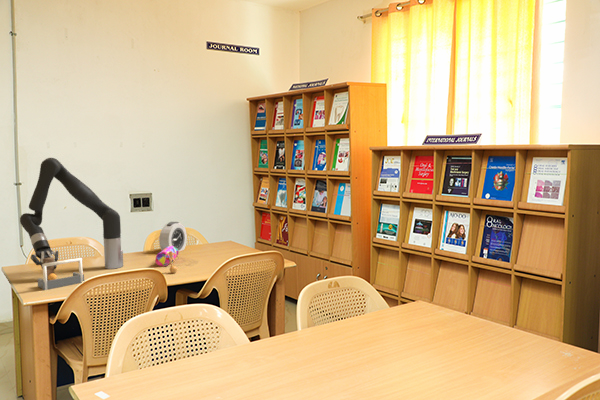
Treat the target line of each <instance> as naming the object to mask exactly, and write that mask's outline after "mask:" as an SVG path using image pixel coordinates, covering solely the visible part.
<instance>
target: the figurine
mask: <svg viewBox="0 0 600 400" xmlns="http://www.w3.org/2000/svg"><path fill="white" fill-rule="evenodd" d="M173 254H175V253H173V252H172V251H170V252H169V253H168V254H166V255H165V261H166V256H167V255H169V256H170V258H169V260H170V263H169V265H170V267H169V272H170V273H172V274H175V273H177V271H178V268H177V266H176V265H175V261H176V260H175V259H174V257H172V256H173ZM175 255H176V254H175ZM176 256H177V255H176ZM176 258H178V259H179V256H177V257H176ZM172 260H173V261H172Z"/></svg>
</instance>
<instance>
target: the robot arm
mask: <svg viewBox="0 0 600 400" xmlns="http://www.w3.org/2000/svg"><path fill="white" fill-rule="evenodd" d="M54 179H56V180H57V181H58V182H60V183H61V184H62V185H63V187H64V188H65V189H66V191H67V192H68V193H69V194H70V195H71V197H73V198H74V199H75V200H77V202H78V203H80V204H81V205H83V206H85V207H86V208H88V209H89V210H91V211H92V212H93V213H95V214H96V215H97V216H98V217H99V218H100V219H101V220H102V228H103V229H102V230H103V232H102V233H103V234H102V237H103V256H104V269H108V270H109V269H111V270H113V269H119V268H120V269H121V268H123V267H124V251H123V249H122V240H121V239H122V237H121V233H122V230H121V226H122V225H121V216H120V214H119V213H118V211H116V210H114V209H113V208H112V207H110V206H109V205H107V204H106V203H105V202H103V201H102V200H101V199H100V197H99V196H98V195H97V194H96V193H95V192H94V191H93V190H92V189H91V188H90V187H89V186H88V185H86V184H85V183H84V182H83V181H81V180H80V179H78V177H76V176H75V175H73V174H72V173H71V172H70V171H69V170H68V169H67V168H66V167H65V166H64V165H63V164H62V163H61V162H60V161H59V160H58V159H57V158H54V157H47V158H45V159H44V160H42V162H41V164H40V168H39V175H38V179H37V183H36V186H35V188H34V191H33V193H32V196H31V199H30V201H29V205H28V208H29V210H31V211H34V213H29V212H28V213H27V212H26V213H23V214H21V216H20V217H19V222H20V225H21V227H22V228H23V229H24V230H25V232H26V233H27V234H28V236H29V239H30V242H31V246H32V248H33V251H34V254H33V253H32V254H31V255H30V259H31V260H32V262H33V263H34V264H35V265H36V266H41V269H42V270H43V267H42V264H44V260H43V259H44V258H49V257H50V258H54V262H57V261H59V251H58V250H56V251H53V250H52V248H51V246H50V243H49V241H48V238H47V236H46V235H45V233H44V230H43V227H41V224H42V223H43V211H44V210H43V209H44V207H45V203H46V201H47V199H48V193H49V189H50V186H51V184H52V182H53V180H54ZM46 269H47V268H46ZM56 269H57V265H54V270H56Z"/></svg>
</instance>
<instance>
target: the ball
mask: <svg viewBox="0 0 600 400" xmlns="http://www.w3.org/2000/svg"><path fill="white" fill-rule="evenodd" d="M57 277H58V276H57V274H54V273H52V274H50V275H49V276H48V278H47V280H48V281H49V280H54V279H58V278H57Z"/></svg>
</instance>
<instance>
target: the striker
mask: <svg viewBox="0 0 600 400" xmlns="http://www.w3.org/2000/svg"><path fill="white" fill-rule="evenodd" d="M54 259H55V257H53V258H50V257H49V258H44V259H43V260H44V263H51V262H54ZM46 268H47V279H48V276H49V275H50V274H52V273H54V274H55V269H54V265H53V266H47V267H46Z"/></svg>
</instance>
